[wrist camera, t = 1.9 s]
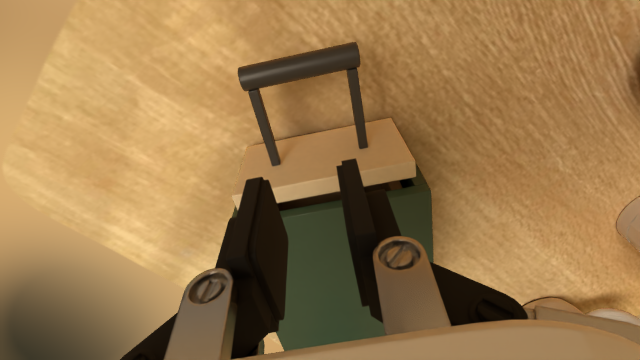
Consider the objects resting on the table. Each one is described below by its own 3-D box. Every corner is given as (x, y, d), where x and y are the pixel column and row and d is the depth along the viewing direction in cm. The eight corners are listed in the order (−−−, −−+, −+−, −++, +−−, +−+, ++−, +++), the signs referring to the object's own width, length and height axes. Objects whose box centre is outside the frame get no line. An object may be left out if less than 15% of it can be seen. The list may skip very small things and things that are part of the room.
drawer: (215, 60, 23) (187, 92, 18) (382, 22, 23) (408, 43, 17) (288, 265, 34) (285, 326, 28) (403, 245, 33) (424, 304, 28)
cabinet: (247, 160, 29) (228, 228, 21) (398, 130, 28) (431, 190, 20) (290, 278, 36) (286, 357, 29) (409, 257, 35) (436, 334, 28)
